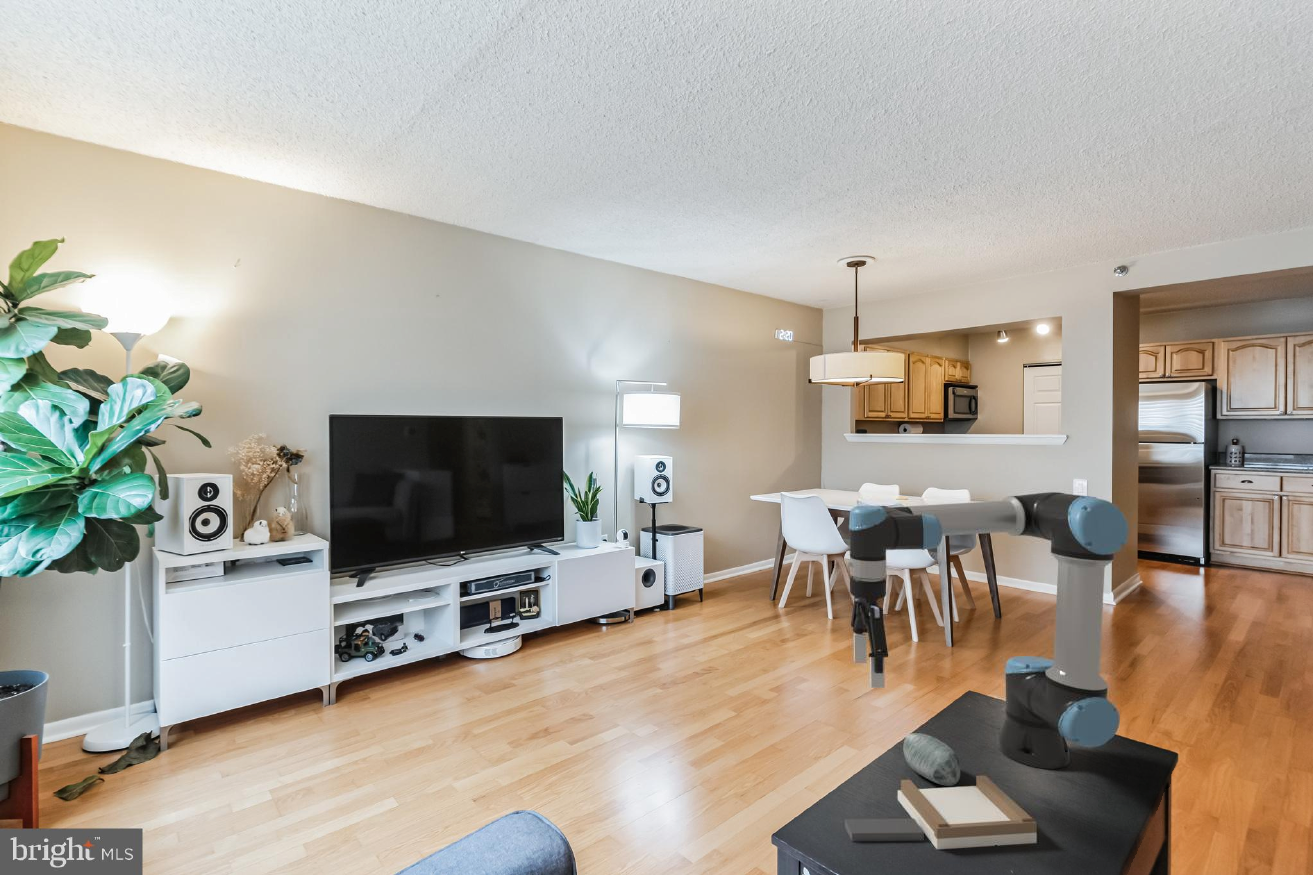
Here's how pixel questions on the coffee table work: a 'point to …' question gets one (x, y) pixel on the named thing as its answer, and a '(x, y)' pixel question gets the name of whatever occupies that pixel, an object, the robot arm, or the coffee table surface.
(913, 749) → the grey streaked oval piece
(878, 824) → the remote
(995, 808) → the shelf bay
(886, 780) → the coffee table surface
